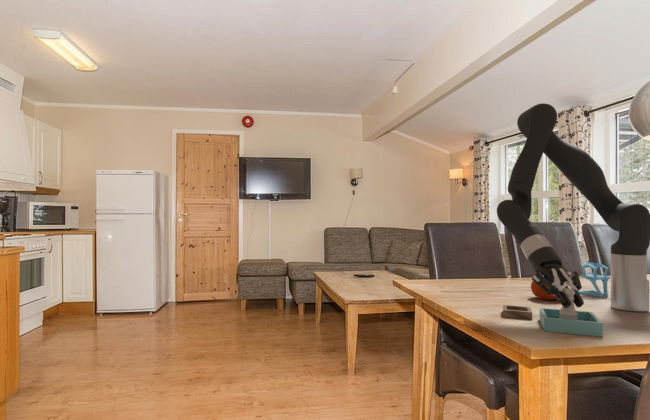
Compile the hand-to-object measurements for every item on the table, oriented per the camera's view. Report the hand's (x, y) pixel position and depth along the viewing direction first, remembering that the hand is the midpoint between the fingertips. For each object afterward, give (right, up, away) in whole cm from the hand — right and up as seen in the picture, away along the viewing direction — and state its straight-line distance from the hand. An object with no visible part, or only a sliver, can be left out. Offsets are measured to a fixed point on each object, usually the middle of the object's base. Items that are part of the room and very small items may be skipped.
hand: (574, 305), depth 106 cm
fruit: (+14, -7, +38) cm, 41 cm away
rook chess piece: (0, -4, +2) cm, 5 cm away
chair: (+36, -7, +46) cm, 59 cm away
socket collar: (-8, -6, +15) cm, 18 cm away
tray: (0, -6, +2) cm, 6 cm away
